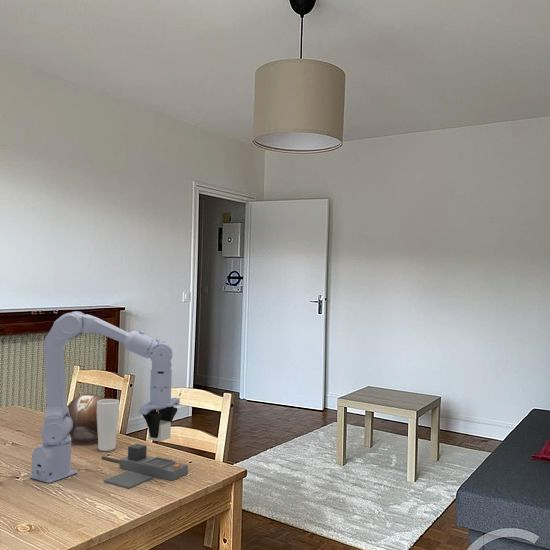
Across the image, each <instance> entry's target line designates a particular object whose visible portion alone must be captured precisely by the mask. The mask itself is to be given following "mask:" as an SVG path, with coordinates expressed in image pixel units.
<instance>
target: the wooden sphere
mask: <svg viewBox="0 0 550 550" xmlns="http://www.w3.org/2000/svg"><path fill="white" fill-rule="evenodd" d="M103 399H105V398H103V397H102V396H101V395H98V394H95V393H85V394H80V395H78V396H77V397H75V398H74V399H72V400H71V401H70V402H69V403H68V404H67V406H68V408H69V415H70V417H71V418H72V420H73V428H72V430H71V431H70V432H69V435H70V437H71V436H72V438H74V439H76V440H79V441H85V442H87V441H93V440H96V439H98V432H97V401H99V400H103Z"/></svg>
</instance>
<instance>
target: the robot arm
mask: <svg viewBox="0 0 550 550" xmlns="http://www.w3.org/2000/svg"><path fill="white" fill-rule="evenodd" d="M90 333H97V334H100V335H102V336H105V337H108V338H109V339H113V340H115V341H117V342H119V343H122V344H123V345H124V347H125V349H126V351H129V352H131V353H133V354H135V355H137V356H140V357H142V358H145V359H150V361H151V369H150V387H149V388H150V389H149V402H147V403H145V404H143V405H141V406H139V410H138V411H139V412H138V413H139V414H140V415H142V417H143V418H144V420H145V422H146V425H147V428H148V431H149V433H150V437H152V438H158V433H159V424H160V420H163V421H169V422H171V424H172V422H173V420H174V418H175V415H176V414H177V413H178V407H175V406H179V405H180V404H181V403H180V401H181V400H180V399H181V398H179V397H172V373H173V370H172V358H173V348H172V346H171V345H170V344H169V343H167V342H166V341H163V340H162V341H160V340H161V339H160V338H158V337H157V338H153V337H151V336H150V335H146V334H144V333H145V331H143V330H138V331H137V330H132V331H129V332H128V331H126V330H124V329H122V328H120V327H118V326H116V325H113V324H111V323H109V322H107V321H105V320H103V319H101V318H99V317H96V316H94V315H91V314H88V313H86V314H85V313H84V312H82V311H77V310H75V311H71V312H67V313H64V314H62V315H61V316H59V317H58V318H57V319H56V320H55V321H54V322H53V325H52V327H51V328H50V330H49V332H48V333H47V335H46V337H45V339H44V340H43V353H44V354H43V355H44V372H45V373H44V378H45V379H44V380H45V397H46V402H45V403H46V410H45V414H44V416H43V417H44V418H43V420H44V423H43V425H42V428H41V431H40V436H41V439H42V443H41V444H40V446H39V445H38V446H37V447H36V448H34V449H33V452H32V455H31V474H30V475H29V478H30V479H32V480H33V479H34V480H37V481H41V482H45V483H48V484H50V483H54V482H56V481H58V480H63V479H65V478H68V477H70V476H72V475H75V474H78V470H75V469H71V465H72V464H71V463H72V462H71V461H72V437H71V435H70V434H69V432H70V431H71V430H72V428H73V420H72V418H71V417H70V415H69V408H68V404H67V388H66V368H65V367H66V366H65V365H66V364H65V346H66V345H67V344H68V343H70V341H71V340H72V339H73V338H74V337H77V336H78V335H80V334H83V335H84V334H90Z"/></svg>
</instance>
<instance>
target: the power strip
mask: <svg viewBox="0 0 550 550" xmlns="http://www.w3.org/2000/svg"><path fill="white" fill-rule="evenodd" d="M101 459H102V460H105V461H108V462H113V463H116V464H118V465H119V466H118V467H119V469H122V470H126V471H132V472H136V473H140V474H144V475H148V476H152V477H153V478H154V477H155V478H158V479H163V480H168V481H172V482H173V481H175V480H177V479H180V478H182V477H184V476H185V475H188V471H189V468H188V467H189V466H188V464H184V463H181V462H176V460H175V459H174V460H173V459H171V458H170V459H169V458H165V457H160V456H156V457H154V456H149V455H147V445H145V444H141V443H135V444H131V445H130V446H128V447H127V456H125V457H122V458H120V459H118V458H114V457H109V456H104V455H102V456H101Z"/></svg>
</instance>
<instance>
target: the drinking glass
mask: <svg viewBox="0 0 550 550" xmlns="http://www.w3.org/2000/svg"><path fill="white" fill-rule="evenodd" d="M119 417H120V400H119V399H116V398H115V399H114V398H104V399H103V400H99V401H97V432H98V438H97V449H98V450H99V451H101V452H110V451H113V450H115V449H116V447H117V433H118V425H119Z"/></svg>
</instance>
